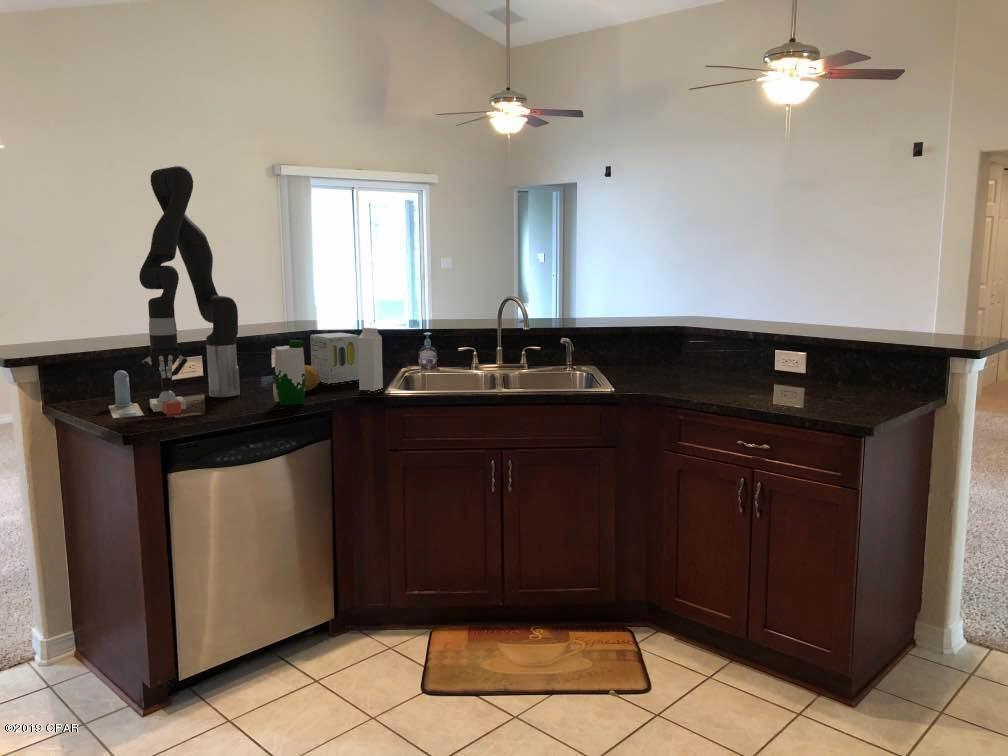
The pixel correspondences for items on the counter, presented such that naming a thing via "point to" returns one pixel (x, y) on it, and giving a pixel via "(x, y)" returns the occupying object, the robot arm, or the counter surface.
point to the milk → (370, 360)
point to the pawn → (122, 389)
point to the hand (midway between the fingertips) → (167, 389)
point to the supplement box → (335, 357)
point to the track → (126, 411)
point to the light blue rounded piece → (167, 396)
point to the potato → (311, 377)
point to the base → (158, 406)
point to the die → (171, 408)
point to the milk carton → (290, 373)
